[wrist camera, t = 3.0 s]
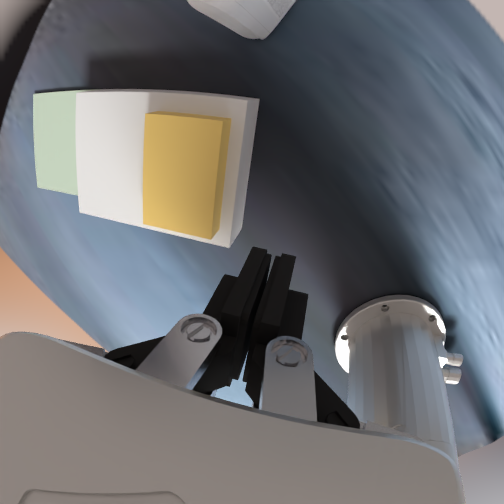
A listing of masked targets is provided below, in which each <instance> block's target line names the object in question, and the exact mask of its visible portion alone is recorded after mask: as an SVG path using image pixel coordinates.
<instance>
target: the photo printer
mask: <svg viewBox="0 0 504 504" xmlns="http://www.w3.org/2000/svg"><path fill="white" fill-rule="evenodd" d="M187 1H188V3H189V4H190V5H191V6H192V7H193V8H194V9H196V10H197V11H199V12H201V13H203V14H205V15H206V16H208V17H210V18H212V19H214V20H215V21H217V22H219V23H221V24H222V25H224V26H226V27H227V28H229V29H231V30H233V31H234V32H236V33H238V34H239V35H241V36H243V37H245V38H249V39H259V38H260V39H261V40H263V39H265V38H266V37H267V36H268V35H269V34H270V33H271V32H272V31H273V30H274V29H275V27H276V26H277V25H278V23H279V22H280V21H281V20H282V18H283V17H284V16H285V14H286V13H287V12H288V10H289V9H290V8H291V7H292V5H293V4H294V3H295V1H296V0H187Z"/></svg>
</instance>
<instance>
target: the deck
mask: <svg viewBox="0 0 504 504" xmlns="http://www.w3.org/2000/svg"><path fill="white" fill-rule="evenodd" d="M259 100H260V99H256V98H249V97H241V96H233V95H224V94H214V93H204V92H191V91H176V90H153V89H101V90H92V91H85V92H78V93H76V121H75V134H76V169H77V186H78V199H79V210H80V213H84V214H89V215H93V216H97V217H101V218H105V219H110V220H114V221H118V222H122V223H126V224H131V225H135V226H139V227H143V228H147V229H152V230H156V231H160V232H164V233H168V234H173V235H177V236H181V237H185V238H189V239H194V240H198V241H202V242H206V243H211V244H215V245H219V246H223V247H227V248H230V246H231V245H232V243H233V241H234V240H235V238H236V237H237V235H238V234H239V232H240V230H241V229H242V223H243V216H244V208H245V201H246V193H247V186H248V179H249V171H250V164H251V157H252V150H253V142H254V135H255V128H256V121H257V114H258V107H259ZM155 111H166V112H178V113H189V114H199V115H208V116H216V117H224V118H231V128H230V136H229V144H228V153H227V162H226V171H225V180H224V189H223V199H222V208H221V218H220V229H219V230H218V232H217V233H216V234H215V236H214V237H213V238H212V239H211V240H209V239H205V238H201V237H197V236H192V235H188V234H184V233H179V232H175V231H171V230H167V229H162V228H158V227H154V226H149V225H145V224H143V148H144V125H145V113H150V112H155Z"/></svg>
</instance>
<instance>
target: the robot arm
mask: <svg viewBox="0 0 504 504" xmlns="http://www.w3.org/2000/svg"><path fill="white" fill-rule="evenodd" d="M271 256H272V255H271V254H267V250H266V249H261V248H257V247H252V249H251V251H250V253H249V256H248V258H247V260H246V262H245V264H244V266H243V268H242V270H241V272H240V274H239V276H238V277H235V276H230V275H226V274H225V275H224V276H223V278H222V279H221V281H220V283H219V285H218V287H217V288H216V290H215V292H214V294H213V296H212V298H211V299H210V301H209V303H208V305H207V307H206V309H205V310H204V312H203V314H191V315H188V316H185V317H183V318H182V319H181V320H179V321H178V323H177V324H176V325H175V326H174V327H173V328H172V329H171V330H170V332H169V333H168V334H167V335H166V336H163V337H159V338H156V339H152V340H148V341H145V342H141V343H137V344H133V345H129V346H125V347H121V348H117V349H115V350H112V351H110V352H109V353H108V352H105V350H104V349H103V348H98V347H93V346H88V345H83V344H78V343H74V342H69V341H65V340H60V339H56V338H53V337H50V336H46V335H42V334H38V333H30V332H12V333H8V334H5V335H3V336H1V337H0V504H466V502H465V494H464V488H463V483H462V478H461V475H460V472H459V464H458V455H457V448H456V441H455V434H454V428H453V421H452V416H451V410H450V405H449V400H448V395H447V390H446V385H445V383H447V384H457V383H458V382H459V380H460V378H461V370H460V369H459V368H452V367H443V365H444V364H449V365H453V366H460V365H461V364H462V361H463V356H462V354H456V353H447V351H446V350H445V348H444V343H445V339H446V329H445V325H444V321H443V319H442V317H441V314H440V313H439V311H438V310H437V309H436V308H435V307H434V306H433V305H432V304H430V303H429V302H428V301H425V300H423V299H421V298H419V297H414V296H410V295H390V296H384V297H380V298H376V299H373V300H371V301H369V302H366V303H364V304H362V305H361V306H359V307H358V308H356V309H355V310H353V311H352V312H351V313H350V314H349V315H348V316H347V317H346V318H345V319H344V321H343V322H342V323H341V325H340V327H339V329H338V331H337V334H336V339H335V353H336V358H337V360H338V362H339V364H340V365H341V366H342V368H343V369H344V370H345V371H346V372H348V373H349V376H348V400H347V405H346V404H345V403H344V402H343V401H342V400H341V399H340V398H339V397H338V396H337V395H336V393H335V392H334V391H333V390H332V389H331V388H330V387H329V386H328V385H327V384H326V383H325V382H324V381H323V380H322V379H321V378H320V376H319V375H318V374H317V373H316V372H315V371H314V364H313V354H312V350H311V349H310V347H309V346H308V345H307V344H306V343H305V342H304V341H302V340H301V339H302V333H303V326H304V320H305V313H306V307H307V300H308V294H306V293H302V292H297V291H293V290H289V285H290V281H291V277H292V272H293V268H294V263H295V259H296V256H292V255H287V254H283V253H282V256H281V257H279V256H276V257H275V260H274V263H273V266H272V269H271V272H270V275H269V278H268V280H267V277H268V272H269V267H270V261H271ZM266 282H267V283H266ZM247 352H248V354H247ZM246 355H247V360H246V365H245V370H244V376H243V382H247V384H246V389H245V391H246V392H247V394H248V395H249V397H250V398H251V399H252V401H253V403H252V407H249V406H245V405H241V404H237V403H233V402H230V401H226V400H223V399H219V398H216V397H215V394H216V392H217V389H219V388H222V387H225V386H229V387H230V385H231V382H232V379H236V380H238V379H239V376H240V373H241V370H242V367H243V364H244V361H245V358H246Z"/></svg>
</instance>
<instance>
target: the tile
mask: <svg viewBox="0 0 504 504" xmlns="http://www.w3.org/2000/svg"><path fill="white" fill-rule="evenodd" d="M230 128H231V118H224V117H216V116H208V115H199V114H189V113H178V112H166V111H155V112H150V113H145V125H144V148H143V224H145V225H149V226H154V227H158V228H162V229H167V230H171V231H175V232H179V233H184V234H188V235H192V236H197V237H201V238H205V239H209V240H211V239H212V238H213V237H214V236H215V234H216V233H217V232H218V230H219V229H220V218H221V208H222V199H223V189H224V180H225V171H226V162H227V153H228V144H229V136H230Z"/></svg>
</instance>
